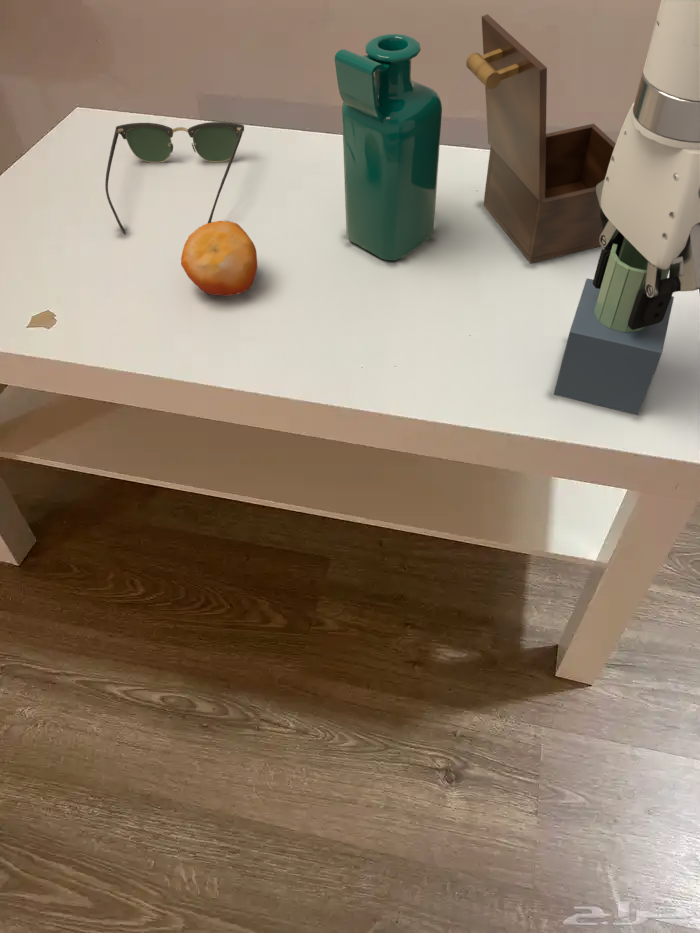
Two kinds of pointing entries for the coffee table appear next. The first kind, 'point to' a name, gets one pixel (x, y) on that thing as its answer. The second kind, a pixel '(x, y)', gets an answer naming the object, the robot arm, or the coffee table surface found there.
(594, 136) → the chest
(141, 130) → the sunglasses
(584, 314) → the slate grey cube
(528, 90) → the lid
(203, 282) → the fruit
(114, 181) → the coffee table surface
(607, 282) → the cup
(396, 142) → the green bottle
